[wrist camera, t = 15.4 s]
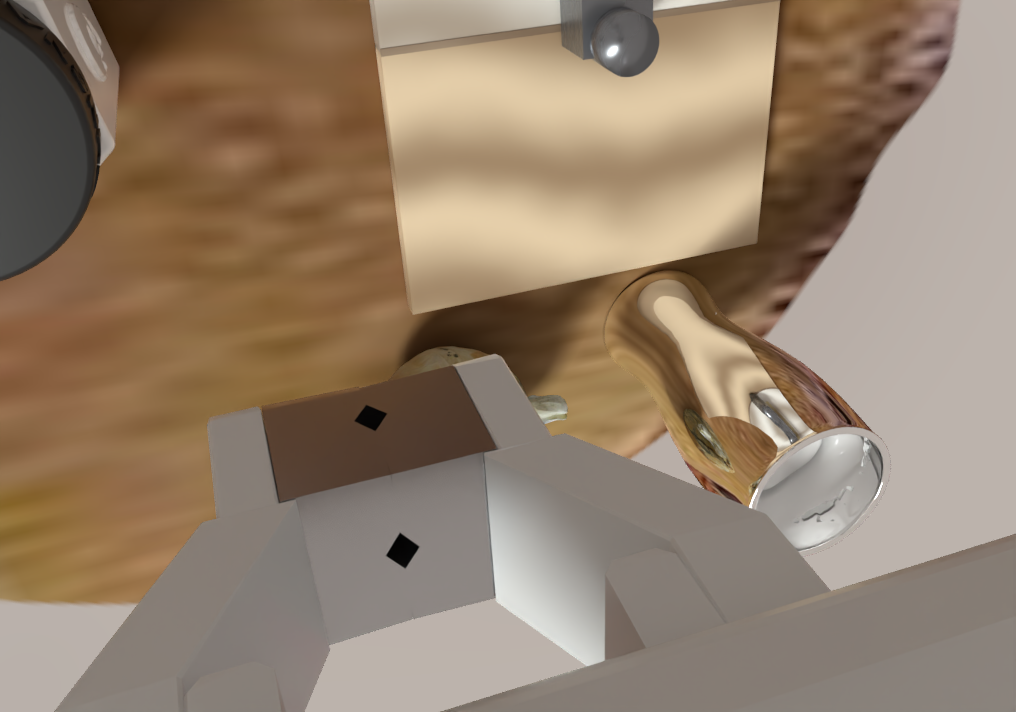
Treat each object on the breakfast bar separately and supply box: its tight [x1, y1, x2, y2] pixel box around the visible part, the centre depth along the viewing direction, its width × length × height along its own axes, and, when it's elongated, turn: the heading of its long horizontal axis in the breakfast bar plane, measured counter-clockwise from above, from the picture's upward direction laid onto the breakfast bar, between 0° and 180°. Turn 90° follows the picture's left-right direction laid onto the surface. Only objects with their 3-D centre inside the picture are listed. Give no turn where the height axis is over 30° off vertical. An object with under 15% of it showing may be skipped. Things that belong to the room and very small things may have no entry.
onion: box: [388, 346, 568, 424], centre depth 45 cm, size 8×8×8 cm
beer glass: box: [604, 270, 891, 557], centre depth 44 cm, size 7×7×15 cm
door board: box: [370, 0, 781, 315], centre depth 39 cm, size 24×18×4 cm
